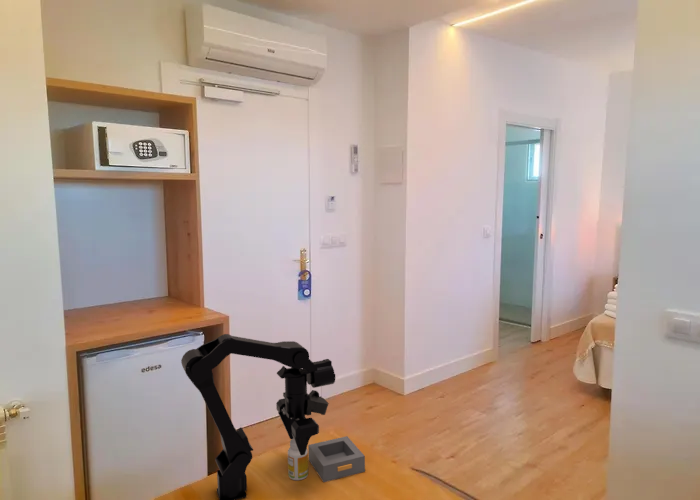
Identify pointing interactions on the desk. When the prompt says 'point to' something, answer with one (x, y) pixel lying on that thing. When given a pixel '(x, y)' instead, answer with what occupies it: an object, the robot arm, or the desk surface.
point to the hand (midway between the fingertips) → (297, 446)
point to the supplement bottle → (297, 462)
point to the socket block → (336, 458)
